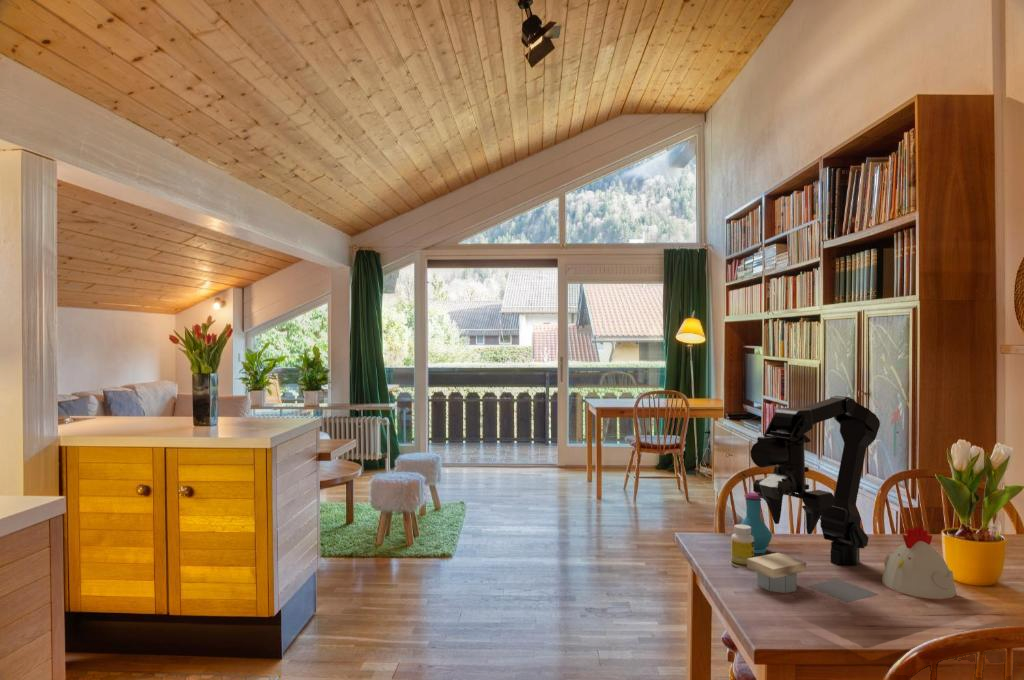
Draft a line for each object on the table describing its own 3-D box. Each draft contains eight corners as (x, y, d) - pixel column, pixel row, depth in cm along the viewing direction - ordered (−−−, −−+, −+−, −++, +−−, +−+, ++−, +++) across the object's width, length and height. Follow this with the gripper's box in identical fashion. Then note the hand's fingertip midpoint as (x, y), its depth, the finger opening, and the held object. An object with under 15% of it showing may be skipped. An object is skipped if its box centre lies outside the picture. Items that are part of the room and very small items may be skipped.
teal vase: (768, 557, 165) (768, 499, 165) (731, 551, 169) (731, 495, 170) (774, 547, 172) (774, 492, 173) (739, 542, 177) (739, 488, 177)
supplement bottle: (755, 570, 155) (755, 530, 155) (732, 568, 156) (732, 528, 157) (752, 562, 161) (752, 524, 161) (729, 561, 162) (729, 522, 162)
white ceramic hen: (868, 587, 145) (867, 521, 145) (910, 579, 150) (910, 515, 150) (926, 610, 132) (926, 538, 132) (971, 601, 137) (971, 532, 137)
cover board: (778, 561, 147) (778, 552, 147) (806, 571, 140) (806, 562, 140) (746, 567, 143) (746, 558, 143) (773, 578, 136) (773, 569, 136)
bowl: (775, 583, 147) (775, 561, 147) (804, 595, 140) (803, 572, 140) (749, 588, 143) (749, 566, 144) (777, 601, 136) (777, 578, 136)
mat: (837, 585, 146) (837, 578, 146) (878, 601, 137) (878, 594, 137) (806, 592, 141) (806, 585, 141) (847, 609, 132) (847, 602, 132)
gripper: (735, 459, 154) (737, 523, 154) (800, 473, 137) (802, 545, 137) (769, 455, 158) (770, 517, 158) (835, 468, 142) (837, 537, 142)
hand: (792, 528), depth 149 cm, fingers open, 9 cm apart
